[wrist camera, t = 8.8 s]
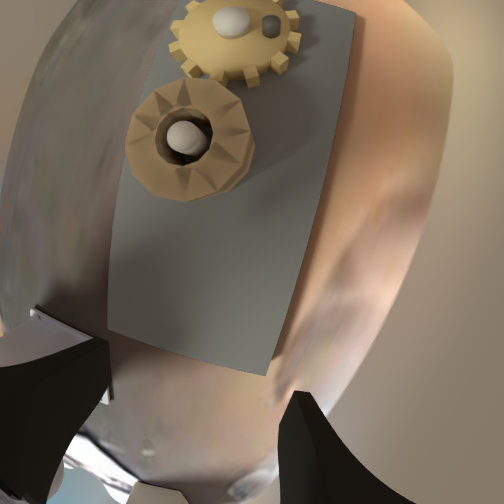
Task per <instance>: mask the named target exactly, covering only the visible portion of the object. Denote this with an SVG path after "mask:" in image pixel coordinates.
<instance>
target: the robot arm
mask: <svg viewBox="0 0 504 504" xmlns="http://www.w3.org/2000/svg"><path fill="white" fill-rule="evenodd" d="M30 314H31V318H29V319H28V320H26V321H24V322H23V323H21V324H20V325H18V326H17V327H15V328H14V329H12V330H11V331H9V332H8V333H6V334H5V335H3V336H2V337H0V504H46V502H47V500H48V499H50V498H51V497H52V496H53V495H54V494H55V493H56V492H57V490H58V489H59V487H60V485H61V483H62V481H63V477H64V463H63V460H62V458H63V456H64V454H65V452H66V450H67V448H68V447H69V445H70V443H71V441H72V439H73V438H74V436H75V435H76V433H77V432H78V430H79V429H80V428H81V426H82V425H83V424H84V422H85V421H86V419H87V418H88V417H89V415H90V414H91V413H92V411H93V410H94V409H95V407H96V406H97V405H98V403H99V402H102V403H104V404H109V403H110V394H109V384H110V382H111V380H112V378H111V368H110V355H109V342H107V341H105V340H102V339H100V338H97V337H95V338H93V337H91V336H88V335H86V334H84V333H82V332H80V331H78V330H76V329H74V328H71V327H69V326H67V325H65V324H63V323H61V322H59V321H57V320H56V319H54V318H52V317H50V316H48V315H46V314H44V313H42V312H41V311H39V310H37V309H35V308H32V309H31V310H30ZM278 463H279V478H280V504H415V503H413V502H412V501H410V500H408V499H406V498H405V497H403V496H401V495H400V494H398V493H397V492H395V491H393V490H392V489H391V488H389V487H388V486H387V485H385V484H384V483H383V482H381V481H380V480H379V479H377V478H376V477H375V476H374V475H373V474H372V473H371V472H370V471H369V470H367V469H366V468H365V467H364V466H363V465H362V464H361V463H360V462H359V461H358V460H357V458H356V457H355V456H354V455H353V454H352V453H351V452H350V451H349V449H348V448H347V447H346V446H345V444H344V443H343V442H342V440H341V439H340V438H339V437H338V435H337V434H336V432H335V431H334V429H333V428H332V426H331V425H330V423H329V422H328V420H327V419H326V417H325V416H324V414H323V412H322V411H321V409H320V408H319V406H318V404H317V403H316V401H315V399H314V398H313V396H312V395H311V393H310V392H303V391H295V390H294V392H293V395H292V397H291V399H290V402H289V404H288V406H287V408H286V411H285V413H284V415H283V417H282V419H281V422H280V424H279V433H278Z"/></svg>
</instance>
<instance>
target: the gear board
mask: <svg viewBox="0 0 504 504" xmlns="http://www.w3.org/2000/svg"><path fill="white" fill-rule="evenodd" d="M355 17H356V13H355V12H352V11H349V10H346V9H343V8H339V7H336V6H333V5H329V4H325V3H322V2H318V1H314V0H180V1H179V3H178V5H177V7H176V9H175V11H174V13H173V15H172V17H171V19H170V21H169V23H168V26H167V28H166V30H165V32H164V35H163V37H162V39H161V42H160V44H159V46H158V49H157V51H156V54H155V57H154V59H153V62H152V64H151V67H150V70H149V73H148V75H147V78H146V81H145V84H144V87H143V90H142V93H141V97H140V100H139V103H138V106H137V108H138V107H139V106H140V105H141V104H142V103H143V102H144V100H145V99H146V98H147V97H148V96H149V95H150V94H151V93H152V91H153V90H155V89H157V88H159V87H161V86H164V85H166V84H168V83H171V82H173V81H176V80H178V79H181V78H183V77H188V78H199V79H208V80H216V81H217V82H219V83H220V84H221V85H223V86H224V87H225V88H226V89H228V90H229V91H230V92H232V93H233V94H234V95H235V96H237V97H238V98H239V99H240V100H241V102H242V105H243V108H244V112H245V115H246V118H247V121H248V124H249V127H250V130H251V133H252V136H253V140H254V143H255V149H254V153H253V157H252V161H251V165H250V169H249V172H248V173H247V174H246V175H245V176H244V177H243V178H242V179H241V180H240V181H239V182H238V183H237V184H236V185H235V187H234V188H233V189H232V190H231V191H228V192H225V193H222V194H219V195H216V196H212V197H209V198H206V199H201V200H195V201H189V202H181V201H177V200H172V199H167V198H163V197H158V196H153V195H152V194H151V193H150V192H149V191H148V190H147V189H146V188H145V187H144V186H143V185H142V184H141V183H140V182H139V181H138V180H137V179H136V178H135V177H134V176H133V175H132V173H131V169H130V165H129V161H128V157H127V153H125V157H124V162H123V167H122V172H121V177H120V182H119V188H118V194H117V200H116V207H115V214H114V221H113V229H112V238H111V248H110V260H109V276H108V303H107V329H109V330H111V331H114V332H116V333H119V334H121V335H124V336H126V337H129V338H132V339H135V340H137V341H140V342H143V343H146V344H149V345H151V346H154V347H157V348H160V349H163V350H167V351H170V352H173V353H176V354H179V355H183V356H186V357H189V358H193V359H196V360H200V361H204V362H207V363H211V364H215V365H219V366H223V367H227V368H231V369H235V370H239V371H244V372H248V373H253V374H257V375H262V376H266V373H267V370H268V367H269V365H270V362H271V359H272V356H273V353H274V350H275V347H276V344H277V341H278V338H279V335H280V332H281V329H282V326H283V323H284V320H285V317H286V314H287V311H288V308H289V304H290V301H291V298H292V295H293V292H294V288H295V285H296V282H297V278H298V275H299V272H300V268H301V265H302V261H303V258H304V254H305V251H306V247H307V244H308V240H309V237H310V233H311V229H312V226H313V222H314V218H315V214H316V211H317V207H318V203H319V199H320V195H321V191H322V187H323V183H324V179H325V175H326V171H327V166H328V162H329V158H330V154H331V149H332V145H333V140H334V136H335V131H336V126H337V122H338V117H339V112H340V107H341V102H342V97H343V92H344V86H345V81H346V75H347V69H348V64H349V58H350V52H351V45H352V39H353V32H354V25H355ZM212 137H213V130H212V128H211V127H205V126H203V127H201V128H198V127H196V126H195V125H194V124H193V123H191V122H188V121H179V122H176V123H175V124H173V125H172V126H171V127H170V128H169V130H168V133H167V141H168V144H169V146H170V147H171V148H172V149H174V150H175V151H178V152H181V153H182V154H183V158H184V161H185V162H186V163H187V164H191V163H193V162H196V161H199V159H200V158H201V157H202V156H203V155H204V154H205V153H206V152H207V151H208V150H209V149H210V145H211V141H212Z"/></svg>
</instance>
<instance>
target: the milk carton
mask: <svg viewBox="0 0 504 504" xmlns="http://www.w3.org/2000/svg"><path fill="white" fill-rule="evenodd" d="M126 504H189V503H188V502H187V500H186V499H185V497H184V496H183V495H182V493H181V492H180V491H176V490H171V489H166V488H161V487H156V486H152V485H148V484H144V483H140V482H135V484H134V486H133V489H132V491H131V493H130V496H129V498H128V500H127V503H126Z"/></svg>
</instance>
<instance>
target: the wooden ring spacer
mask: <svg viewBox="0 0 504 504" xmlns="http://www.w3.org/2000/svg"><path fill="white" fill-rule="evenodd" d="M179 121H188V122H191V123H193V124H194V125H195V126H196V127H198V128H201V127H203V126H205V127H211V128H212V130H213V137H212V141H211V145H210V149H209V150H208V151H207V152H206V153H205V154H204V155H203V156H202V157H201V158H200V159H199V161H196V162H193V163H191V164H187V163H186V162H185V161H184V158H183V154H182V153H181V152H178V151H175V150H174V149H172V148H171V147H170V146H169V144H168V141H167V133H168V130H169V128H170V127H171V126H172V125H173V124H175V123H176V122H179ZM125 148H126V153H127V157H128V161H129V165H130V169H131V173H132V175H133V176H134V177H135V178H136V179H137V180H138V181H139V182H140V183H141V184H142V185H143V186H144V187H145V188H146V189H147V190H148V191H149V192H150V193H151V194H152V195H153V196H158V197H163V198H167V199H172V200H177V201H181V202H189V201H195V200H201V199H206V198H209V197H212V196H216V195H219V194H222V193H225V192H228V191H231V190H232V189H233V188H234V187H235V185H236V184H237V183H238V182H239V181H240V180H241V179H242V178H243V177H244V176H245V175H246V174H247V173H248V172H249V169H250V165H251V161H252V157H253V153H254V149H255V143H254V140H253V136H252V133H251V130H250V127H249V124H248V121H247V118H246V115H245V112H244V108H243V105H242V102H241V100H240V99H239V98H238V97H237V96H235V95H234V94H233V93H232V92H230V91H229V90H228V89H226V88H225V87H224V86H223V85H221V84H220V83H219V82H217V81H216V80H208V79H199V78H188V77H183V78H181V79H178V80H176V81H173V82H171V83H168V84H166V85H164V86H161V87H159V88H157V89H155V90H153V91H152V93H151V94H150V95H149V96H148V97H147V98H146V99H145V100H144V102H143V103H142V104H141V105H140V106H139V107H138V108H137V110H136V111H135V112H134V113H133V115H132V118H131V122H130V126H129V129H128V133H127V137H126V141H125Z"/></svg>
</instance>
